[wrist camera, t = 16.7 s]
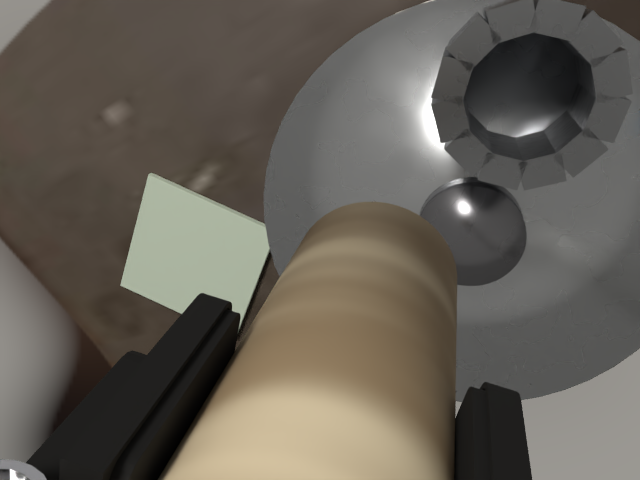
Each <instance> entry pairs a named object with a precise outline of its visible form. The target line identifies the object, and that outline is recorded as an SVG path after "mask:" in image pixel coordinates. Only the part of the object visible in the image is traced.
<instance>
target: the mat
mask: <svg viewBox="0 0 640 480" xmlns="http://www.w3.org/2000/svg"><path fill="white" fill-rule="evenodd" d="M269 251H270V248H269V244H268V238H267V232H266V226H265V224H264V223H261V222H259V221H257V220H255V219H253V218H250V217H248V216H246V215H244V214H242V213H239V212H237V211H235V210H233V209H231V208H228V207H226V206H224V205H222V204H220V203H217V202H215V201H213V200H211V199H208V198H206V197H204V196H202V195H200V194H197V193H195V192H193V191H191V190H189V189H186V188H184V187H182V186H180V185H178V184H175V183H173V182H171V181H169V180H167V179H164V178H162V177H160V176H158V175H156V174H153V173H150V174H149V175H148V179H147V183H146V187H145V191H144V195H143V198H142V202H141V206H140V210H139V214H138V218H137V222H136V226H135V230H134V234H133V238H132V242H131V246H130V250H129V254H128V257H127V261H126V265H125V269H124V273H123V277H122V281H121V286H123V287H125V288H127V289H129V290H131V291H133V292H136V293H138V294H140V295H142V296H144V297H146V298H149V299H151V300H153V301H155V302H157V303H159V304H161V305H164V306H166V307H168V308H170V309H172V310H174V311H177V312H179V313H181V314H182V313H183V312H184V311H185V310H186V309H187V307H188V306H189V305H190V304H191V303H192V301H193V300H194V299H195V298H196V297H197V296H198V295H199V294H200V293H204V294H207V295H211V296H214V297H217V298H220V299H223V300H227V301H230V302H231V303H232V311H234V312H237V313H240V317H241V318H240V324H239V329H240V327H241V324H242V322H243V319H244V316H245V314H246V311H247V309H248V306H249V303H250V301H251V298H252V296H253V293H254V290H255V288H256V285H257V283H258V280H259V277H260V275H261V272H262V270H263V267H264V264H265V262H266V259H267V257H268V254H269ZM238 332H239V330H238Z"/></svg>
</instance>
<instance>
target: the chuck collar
mask: <svg viewBox="0 0 640 480" xmlns="http://www.w3.org/2000/svg"><path fill="white" fill-rule="evenodd" d="M585 8H586V6H583V5H578V4H574V3H569V2H565V1H560V0H434V1H430V2H426V3H423V4H419V5H416V6H413V7H411V8H409V9H406V10H404V11H401V12H399V13H397V14H394V15H392V16H389V17H387V18H385V19H383V20H381V21H379V22H378V23H376V24H374V25H372V26H371V27H369V28H367V29H366V30H364V31H362V32H360V33H359V34H357V35H356V36H355V37H353V38H352V39H351V40H349V41H348V42H347V43H345V44H344V45H343V46H342V47H340V48H339V49H338V50H336V51H335V52H334V53H333V54H332V55H331V56H330V57H329V58H328V59H327V60H326V61H325V62H324V63H323V64H322V65H321V66H320V67H319V68H318V69H317V70H316V71H315V72H314V73H313V74H312V75H311V77H310V78H309V79H308V81H307V82H306V83H305V85H304V86H303V87H302V89H301V90H300V91H299V93H298V94H297V95H296V97H295V99H294V100H293V102H292V104H291V106H290V108H289V109H288V111H287V113H286V115H285V117H284V118H283V120H282V122H281V125H280V128H279V130H278V133H277V135H276V138H275V140H274V143H273V145H272V149H271V154H270V158H269V162H268V166H267V170H266V179H265V189H264V218H265V226H266V232H267V238H268V244H269V248H270V251H271V254H272V258H273V261H274V264H275V267H276V270H277V272H278V274H279V276H281V274H282V273H283V271H284V270H285V268H286V266H287V265H288V263H289V261H290V260H291V258H292V256H293V255H294V253H295V251H296V250H297V248H298V246H299V245H300V243H301V241H302V240H303V238H304V236H305V235H306V234H307V232H308V231H309V229H310V228H311V227H312V226H313V225H314V224H315V223H316V222H317V221H318V220H319V219H320V218H322V217H323V216H324V215H326V214H328V213H329V212H331V211H333V210H335V209H337V208H340V207H342V206H345V205H349V204H352V203H359V202H383V203H389V204H393V205H397V206H400V207H403V208H405V209H408V210H410V211H412V212H414V213H416V214H418V215H419V216H421V217H422V218H424V219H425V220H426V221H428V222H429V223H430V224H431V225H432V226H433V227H434V228H436V230H437V231H438V232H439V233H440V234H441V235H442V237H443V238H444V240H445V241H446V243H447V244H448V246H449V248H450V250H451V252H452V254H453V257H454V261H455V264H456V270H457V334H456V401H460V402H463V399H464V397H465V394H466V392H467V390H468V388H469V387H471V386H472V387H475V388H478V389H480V387H481V386H482V384H483V383H484V382H488V383H491V384H495V385H498V386H501V387H504V388H507V389H511V390H514V391H517V392H518V393H519V394H520V397H521V400H524V399H530V398H536V397H540V396H544V395H548V394H551V393H555V392H558V391H562V390H565V389H568V388H570V387H573V386H575V385H578V384H580V383H583V382H585V381H588V380H590V379H592V378H594V377H596V376H598V375H599V374H601V373H603V372H605V371H607V370H609V369H610V368H612V367H614V366H616V365H617V364H618V363H620V362H621V361H623V360H624V359H626V358H627V357H628V356H629V355H631V354H633V353H634V352H635V351H637V350H638V349H639V348H640V41H638V40H637V39H635V38H634V37H632V36H631V35H629V34H628V33H626V32H625V31H623V30H622V29H620V28H619V27H617V26H616V25H614V24H613V23H611V22H609V21H607V20H604V19H602V18H600V17H599V16H598V15H597V14H596V13H595V12H594V11H593V10H590V9H585Z"/></svg>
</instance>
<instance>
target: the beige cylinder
mask: <svg viewBox="0 0 640 480" xmlns="http://www.w3.org/2000/svg"><path fill="white" fill-rule="evenodd" d="M456 334H457V270H456V264H455V261H454V257H453V254H452V252H451V250H450V248H449V246H448V244H447V243H446V241H445V240H444V238H443V237H442V235H441V234H440V233H439V232H438V231H437V230H436V228H434V227H433V226H432V225H431V224H430V223H429V222H428V221H426V220H425V219H424V218H422V217H421V216H419V215H418V214H416V213H414V212H412V211H410V210H408V209H405V208H403V207H400V206H397V205H393V204H389V203H383V202H359V203H352V204H349V205H345V206H342V207H340V208H337V209H335V210H333V211H331V212H329V213H328V214H326V215H324V216H323V217H322V218H320V219H319V220H318V221H317V222H316V223H315V224H314V225H313V226H312V227H311V228H310V229H309V231H308V232H307V234H306V235H305V236H304V238H303V240H302V241H301V243H300V245H299V246H298V248H297V250H296V251H295V253H294V255H293V256H292V258H291V260H290V261H289V263H288V265H287V266H286V268H285V270H284V271H283V273H282V274H281V276H280V278H279V279H278V281H277V283H276V284H275V286H274V288H273V289H272V291H271V293H270V294H269V296H268V298H267V299H266V301H265V303H264V304H263V306H262V308H261V309H260V311H259V313H258V314H257V316H256V317H255V319H254V321H253V322H252V324H251V326H250V327H249V329H248V331H247V332H246V334H245V336H244V337H243V339H242V341H241V342H240V344H239V346H238V347H237V349H236V351H235V352H234V354H233V356H232V357H231V359H230V360H229V362H228V364H227V365H226V367H225V369H224V370H223V372H222V374H221V375H220V377H219V379H218V380H217V382H216V384H215V385H214V387H213V389H212V390H211V392H210V394H209V395H208V397H207V399H206V400H205V402H204V403H203V405H202V407H201V408H200V410H199V412H198V413H197V415H196V417H195V418H194V420H193V422H192V423H191V425H190V427H189V428H188V430H187V432H186V433H185V435H184V437H183V438H182V440H181V442H180V443H179V445H178V446H177V448H176V450H175V451H174V453H173V455H172V456H171V458H170V460H169V461H168V463H167V465H166V466H165V468H164V470H163V471H162V473H161V475H160V476H159V478H158V480H454V462H455V402H456Z"/></svg>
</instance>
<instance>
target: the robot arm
mask: <svg viewBox="0 0 640 480" xmlns="http://www.w3.org/2000/svg"><path fill="white" fill-rule="evenodd" d="M240 318H241V317H240V313H237V312H234V311H232V303H231V302H230V301H227V300H223V299H220V298H217V297H214V296H211V295H207V294H204V293H200V294H199V295H198V296H197V297H196V298H195V299H194V300H193V301H192V303H191V304H190V305H189V306H188V307H187V309H186V310H185V311H184V312H183V313H182V314H181V316H180V317H179V318H178V319H177V320H176V321H175V323H174V324H173V325H172V326H171V327H170V329H169V330H168V331H167V332H166V333H165V334H164V336H163V337H162V338H161V339H160V340H159V342H158V343H157V344H156V345H155V346H154V347H153V349H152V350H151V351H150V352H149V353H148V355H145V354H142V353H139V352H136V351H130V352H127V353H126V354H125V355H124V356H123V357H122V358H121V359H120V360H119V361H118V362H117V363H116V364H115V365H114V366H113V368H112V369H111V370H110V371H109V372H108V373H107V374H106V375H105V376H104V377H103V379H102V380H101V381H100V382H99V383H98V384H97V385H96V386H95V387H94V389H93V390H92V391H91V392H90V393H89V394H88V395H87V396H86V397H85V398H84V399H83V401H82V402H81V403H80V404H79V405H78V406H77V407H76V408H75V409H74V410H73V412H72V413H71V414H70V415H69V416H68V417H67V418H66V419H65V420H64V421H63V423H62V424H61V425H60V426H59V427H58V428H57V429H56V430H55V431H54V432H53V434H52V435H51V436H50V437H49V438H48V439H47V440H46V441H45V442H44V444H42V446H41V447H40V448H39V449H38V450H37V451H36V452H35V453H34V454H33V455H32V457H31V458H30V459H29V460H28V461H27V462H26V463H23V462H20V461H17V460H5V459H0V480H158V478H159V476H160V475H161V473H162V471H163V470H164V468H165V466H166V465H167V463H168V461H169V460H170V458H171V456H172V455H173V453H174V451H175V450H176V448H177V446H178V445H179V443H180V442H181V440H182V438H183V437H184V435H185V433H186V432H187V430H188V428H189V427H190V425H191V423H192V422H193V420H194V418H195V417H196V415H197V413H198V412H199V410H200V408H201V407H202V405H203V403H204V402H205V400H206V399H207V397H208V395H209V394H210V392H211V390H212V389H213V387H214V385H215V384H216V382H217V380H218V379H219V377H220V375H221V374H222V372H223V370H224V369H225V367H226V365H227V364H228V362H229V360H230V359H231V357H232V356H233V354H234V351H235V346H236V340H237V335H238V330H239V324H240ZM454 480H532V475H531V468H530V461H529V454H528V447H527V440H526V433H525V425H524V418H523V411H522V404H521V397H520V394H519V393H518V392H517V391H514V390H511V389H507V388H504V387H501V386H498V385H495V384H491V383H488V382H484V383H483V384H482V386H481V387H480V389H478V388H475V387H472V386H471V387H469V388H468V390H467V392H466V394H465V397H464V399H463V402H462V404H461V406H460V409H459V411H458V414H457V416H456V418H455V462H454Z"/></svg>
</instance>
